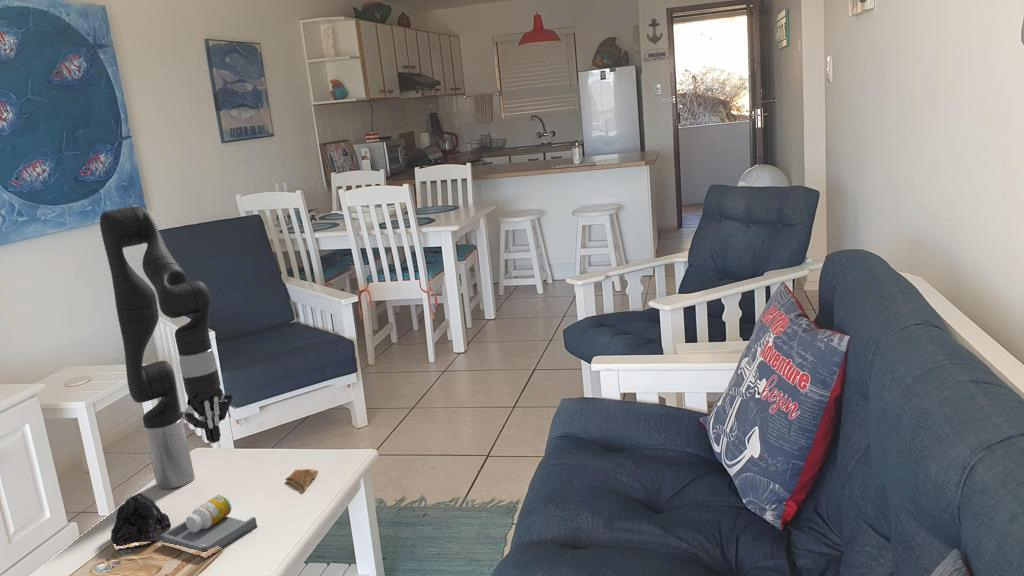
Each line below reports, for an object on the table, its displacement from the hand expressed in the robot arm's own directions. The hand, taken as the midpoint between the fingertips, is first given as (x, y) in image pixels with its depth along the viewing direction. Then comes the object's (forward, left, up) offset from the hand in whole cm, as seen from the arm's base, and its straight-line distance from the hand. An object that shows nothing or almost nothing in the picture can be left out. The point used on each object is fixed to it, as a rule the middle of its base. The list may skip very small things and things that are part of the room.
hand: (214, 441), depth 181 cm
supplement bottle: (-4, +2, -17) cm, 18 cm away
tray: (0, -6, -21) cm, 21 cm away
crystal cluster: (-17, -12, -21) cm, 29 cm away
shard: (+1, +23, -21) cm, 31 cm away
